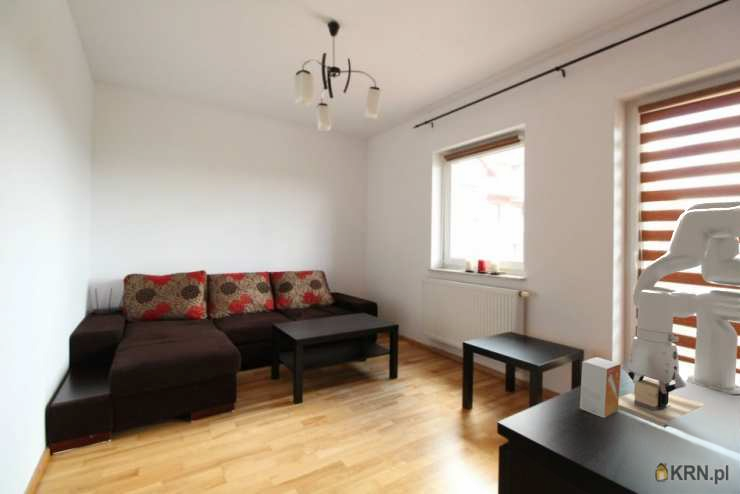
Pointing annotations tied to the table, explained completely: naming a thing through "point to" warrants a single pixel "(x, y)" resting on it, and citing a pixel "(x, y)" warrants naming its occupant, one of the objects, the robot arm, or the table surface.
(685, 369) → the table surface
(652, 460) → the table surface
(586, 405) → the small box
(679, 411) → the board
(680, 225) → the robot arm
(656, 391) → the block
